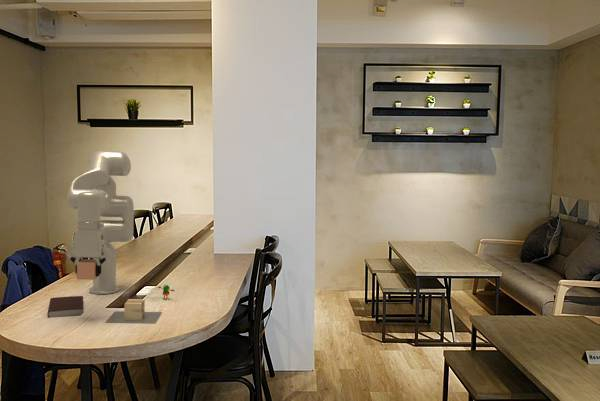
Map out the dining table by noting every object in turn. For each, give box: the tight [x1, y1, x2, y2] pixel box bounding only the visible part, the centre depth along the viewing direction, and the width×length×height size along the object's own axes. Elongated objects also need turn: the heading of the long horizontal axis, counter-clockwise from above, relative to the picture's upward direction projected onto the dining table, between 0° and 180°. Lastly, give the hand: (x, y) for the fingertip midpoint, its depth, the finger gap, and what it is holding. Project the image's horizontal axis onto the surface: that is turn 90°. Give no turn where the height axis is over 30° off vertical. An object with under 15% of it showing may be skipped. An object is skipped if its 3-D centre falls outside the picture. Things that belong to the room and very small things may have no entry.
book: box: [47, 295, 85, 318], centre depth 211 cm, size 12×19×3 cm, turn 22°
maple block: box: [123, 298, 146, 320], centre depth 201 cm, size 6×6×6 cm
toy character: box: [157, 284, 175, 300], centre depth 231 cm, size 11×12×7 cm
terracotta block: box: [76, 258, 97, 281], centre depth 195 cm, size 6×6×6 cm
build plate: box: [104, 310, 163, 325], centre depth 201 cm, size 14×18×1 cm
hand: (88, 275), depth 195 cm, fingers closed on terracotta block, 6 cm apart
